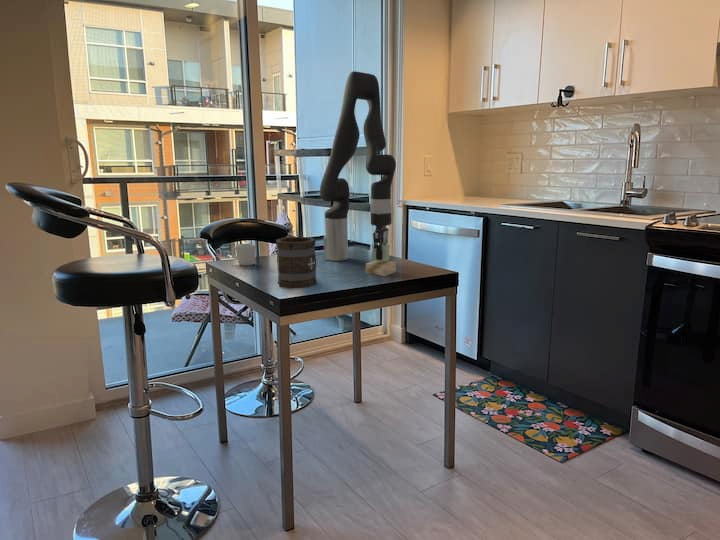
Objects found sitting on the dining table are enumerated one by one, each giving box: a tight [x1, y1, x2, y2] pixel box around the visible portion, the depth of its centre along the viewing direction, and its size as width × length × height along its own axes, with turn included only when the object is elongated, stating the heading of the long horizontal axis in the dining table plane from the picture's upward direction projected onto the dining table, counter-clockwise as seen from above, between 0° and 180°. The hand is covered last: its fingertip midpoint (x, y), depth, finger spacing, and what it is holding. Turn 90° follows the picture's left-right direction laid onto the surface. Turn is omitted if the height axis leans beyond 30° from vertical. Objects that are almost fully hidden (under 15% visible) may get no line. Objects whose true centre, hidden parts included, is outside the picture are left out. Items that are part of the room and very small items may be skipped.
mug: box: [275, 236, 318, 289], centre depth 177 cm, size 20×14×15 cm
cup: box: [230, 243, 257, 267], centre depth 207 cm, size 11×8×8 cm
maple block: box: [365, 260, 397, 277], centre depth 190 cm, size 8×8×4 cm
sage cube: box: [372, 244, 390, 261], centre depth 189 cm, size 5×5×5 cm
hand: (381, 258), depth 190 cm, fingers closed on sage cube, 5 cm apart
